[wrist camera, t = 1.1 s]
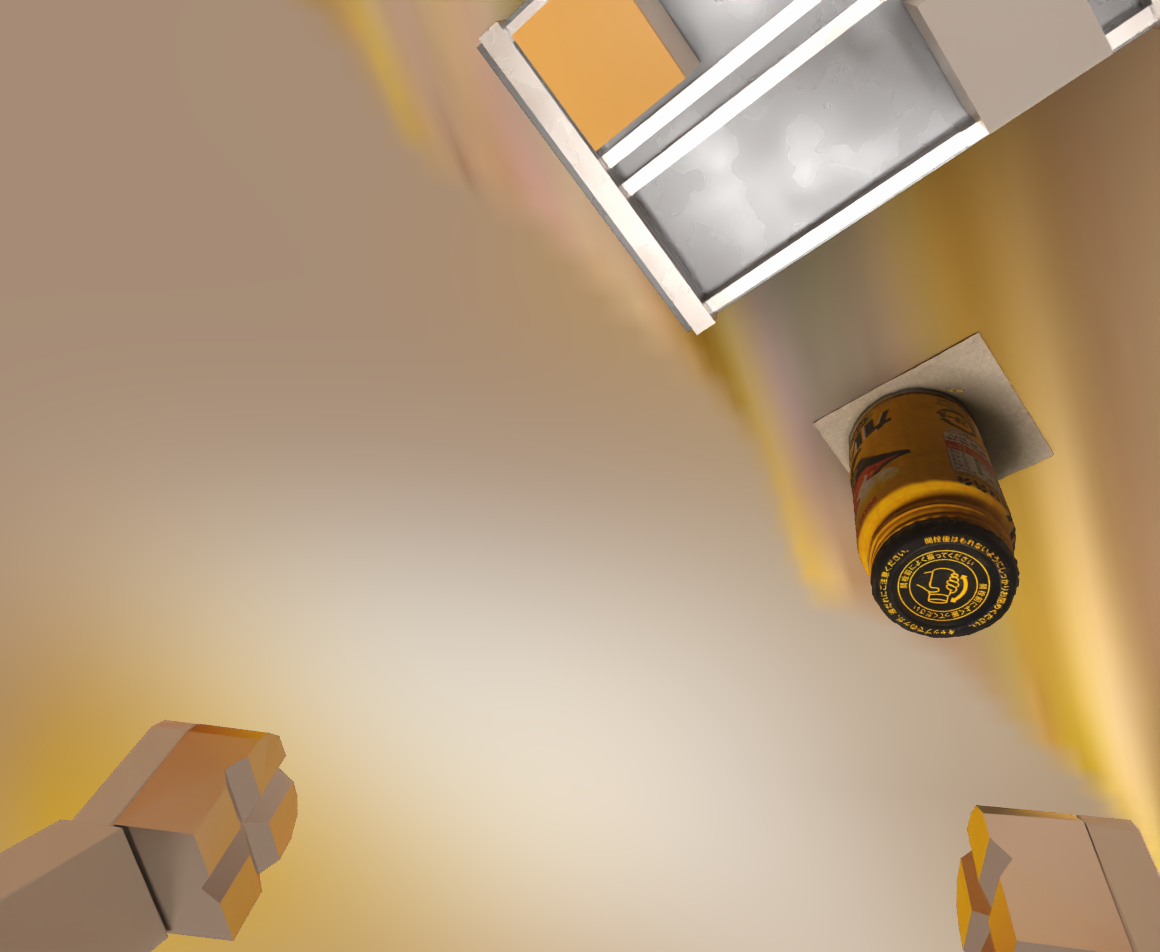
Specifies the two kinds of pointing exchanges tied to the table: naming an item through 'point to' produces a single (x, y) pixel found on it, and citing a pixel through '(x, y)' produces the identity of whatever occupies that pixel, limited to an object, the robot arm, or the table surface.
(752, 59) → the grey tray
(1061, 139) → the table surface
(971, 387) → the condiment
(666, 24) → the fader
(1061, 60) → the block
